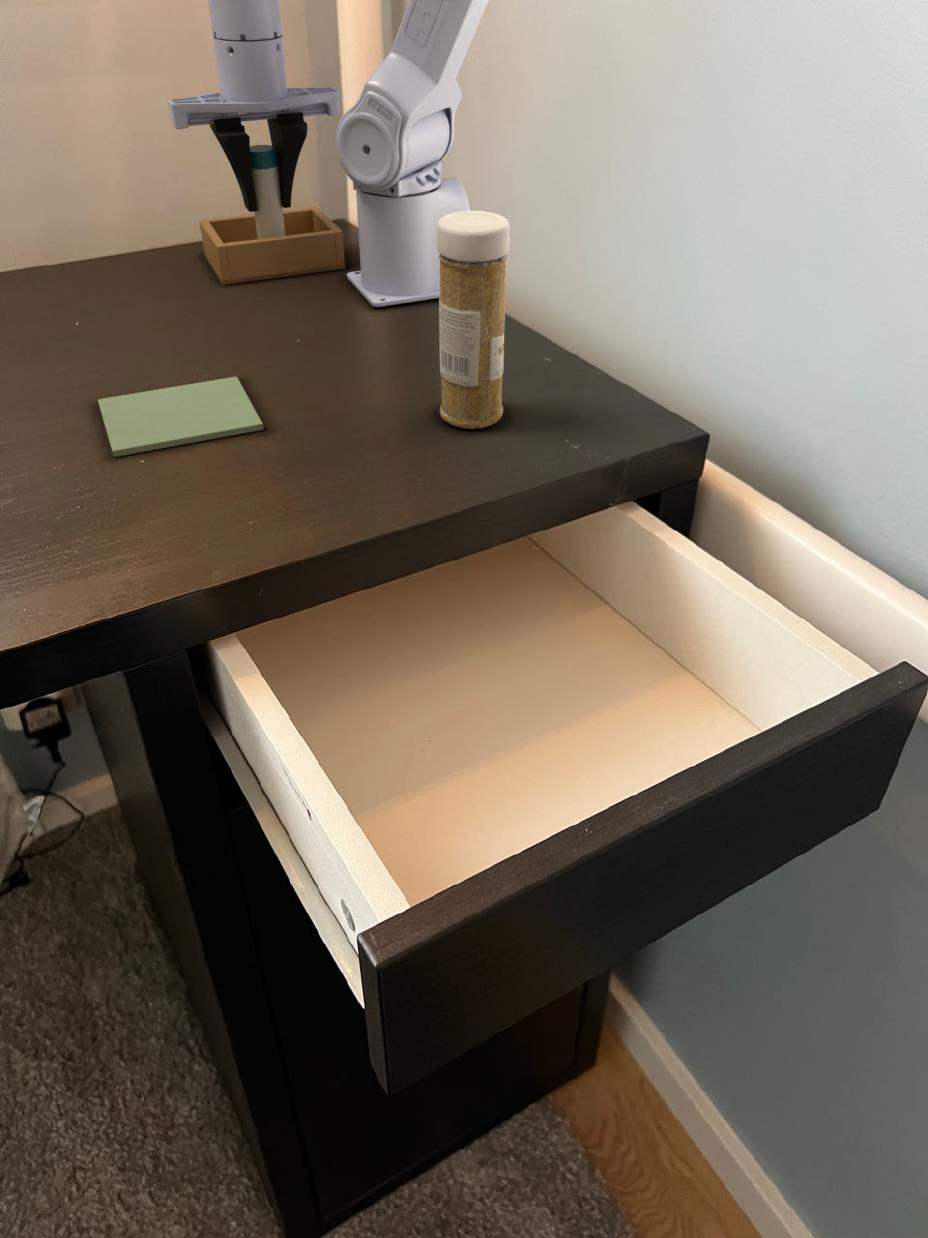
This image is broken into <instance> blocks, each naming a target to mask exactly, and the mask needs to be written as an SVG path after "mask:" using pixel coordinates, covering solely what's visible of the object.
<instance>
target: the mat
mask: <svg viewBox="0 0 928 1238" xmlns="http://www.w3.org/2000/svg"><path fill="white" fill-rule="evenodd" d="M240 381H241V380H239V378H238V376H230V377H225V378H218V379H213V380H207V381H201V382H200V381H199V382H196V383H195V382H194V383H189V384H183V385H177V386H171V387H164V388H159V389H153V390H152V389H151V390H145V391H141V392H134V393H127V394H122V395H117V396H110V397H103V398H99V399H97V402H98V407H99V410H100V414H101V417H102V420H103V425H104V428H105V431H106V435H107V438H108V441H109V445H110V448H111V452H112V456H113V458H117V457H123V456H128V455H133V454H134V455H135V454H139V453H145V452H150V451H154V450H155V451H156V450H160V449H166V448H172V447H177V446H183V445H187V444H195V443H199V442H205V441H209V440H215V439H221V438H225V437H231V436H237V435H243V434H248V433H253V432H258V431H259V432H260V431H263V430H264V423H263V422H262V420H261V418H260V415H259V414H258V412H257V411H256V408H255V407H254V405H253V404H252V401H251V400H250V398H249V396H248V394H247V392H246V391H245V388H244V386H243V385H242V383H241V382H240Z"/></svg>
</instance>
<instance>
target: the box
mask: <svg viewBox="0 0 928 1238" xmlns="http://www.w3.org/2000/svg"><path fill="white" fill-rule="evenodd" d="M283 218H284V226H285V235H286V236H280V237H272V238H263V239H258V237H257V229H256V221H255V214H254V213H250V214H241V215H232V216H223V217H216V218H207V219H199V221H198V222H199V228H200V229H199V230H200V235H201V241H202V247H203V248H202V249H203V253H204V258H205V259H206V261H207V262H208V264H209V265H210V267H211V269H212V270H213V272H214V273H215V275H216V277H218V280H219V281H220V283H221V284H222V285H223V286H226V285H232V284H241V283H248V282H254V281H261V280H269V279H277V278H284V277H292V276H300V275H306V274H315V273H320V272H321V273H322V272H329V271H335V270H343V269H346V261H345V247H344V233H343V231H342V230H341V228H340V227H339V226H338V225H336V223H334V222H333V221H332V220H331V219H330V218H329V217H328V215H327V214H325V213H324V212H323V211H322V210H321V208H320V207H318V206H313V207H302V208H295V209H285V210H284V209H283Z"/></svg>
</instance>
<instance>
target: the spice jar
mask: <svg viewBox="0 0 928 1238" xmlns="http://www.w3.org/2000/svg"><path fill="white" fill-rule="evenodd" d="M510 242H511V225H510V222H509V220H508V219H507V218H506V217H505V216H503V215H500V214H498V213H495V212H490V211H483V210H470V211H461V212H455V213H451V214H447V215H445V216H443V217H442V218H440V220H439V221H438V223H437V251H438V252H439V253H440V255H439V259H440V297H439V298H438V315H439V316H438V319H439V320H438V323H439V324H438V325H439V326H438V327H439V333H438V334H439V335H438V337H439V340H438V341H439V373H440V383H441V384H440V389H441V391H440V396H441V399H440V400H441V404H440V407H439V415H440V417H441V419H442V420H443V421H444V423H448V425H451V426H453V427H456V428H461V429H465V430H466V429H467V430H476V429H484V428H487V427H491V426H492V425H495V424H496V423H498V422H499V421H500V420H501V419H502V417H503V414H504V405H503V397H502V396H503V375H504V374H503V373H504V368H505V367H504V362H505V361H504V360H505V359H504V357H505V319H506V318H505V317H506V309H505V308H506V307H505V294H506V293H505V291H506V290H505V287H506V262H507V257H508V253H509V252H510V245H511V244H510Z"/></svg>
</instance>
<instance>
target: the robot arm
mask: <svg viewBox="0 0 928 1238" xmlns="http://www.w3.org/2000/svg"><path fill="white" fill-rule="evenodd" d="M488 2H489V0H408V3H407V6H406V9H405V12H404V14H403V16H402V19H401V22H400V25H399V27H398V30H397V32H396V33H397V34H396V36H395V39H394V41H393V44H392V47H391V50H390V52H389V53H388V55H387V56H386V57H385V58H384V59H383V61H382V62H381V63H380V64H379V65H378V67H376V69H375V70H374V71H373V72H372V74H371V75H370V76H369V77H368V78H367V80H366V81H365V82H364V84H363V88H362V90H361V93H360V96H359V97H358V99H357V101H356V103H354V105H352V106H351V107H350V108H349V109H348V110H346V111H345V112H344V114H343V115H342V116H341V102H340V91H339V90H337V89H336V88H335V87H333V86H328V87H327V86H326V87H325V86H324V87H288V77H287V67H286V57H285V56H286V55H285V46H284V36H283V27H282V17H281V16H282V15H281V7H280V0H207V4H208V10H209V17H210V25H211V32H212V39H213V40H212V41H213V46H214V52H215V53H214V54H215V60H216V67H217V75H218V81H219V82H218V83H219V89H220V92H215V93H208V94H207V93H206V94H203V95H195V96H188V97H181V98H169V99H168V100H167V103H168V109H169V115H170V120H171V124H172V126H173V127H174V128H175V129H176V130H184V129H188V128H189V127H195V126H206V125H207V126H208V125H209V128H210V130H211V131H212V132H213V135H214V136H215V138H216V140H217V142H218V143H219V145H220V147H221V149H222V150H223V151H222V152H223V153H224V155H225V157H226V159H227V160H228V163H229V164H230V168H231V169H232V171H233V174H234V176H235V179H236V181H237V184H238V187H239V190H240V192H241V196H242V200H243V205H244V208H246V210H247V211H248V212H249V213H254V212H256V211H257V200H256V195H255V189H254V184H253V179H252V171H251V158H250V146H251V137H250V135H249V134H247V132H246V128H245V127H246V126H245V125H243V124H242V122H252V121H253V122H254V121H255V122H256V121H265V120H266V122H267V127H268V133H269V137H270V138H269V139H270V142H271V143H270V144H271V146H274V147H276V150H277V159H278V173H279V182H280V191H281V200H282V209H288V208H289V209H291V208H292V195H293V194H292V193H293V185H294V178H295V174H296V170H297V165H298V161H299V158H300V155H301V152H302V149H303V146H304V143H305V141H306V139H307V136H308V130H309V129H308V123H307V121H305V120H304V117H311V116H323V115H327V116H330V117H333V116H341V118H340V119H339V121H338V124H337V127H336V131H335V141H334V142H335V150H336V155H337V158H338V162H339V163H340V166H341V168H342V170H343V171H344V173H345V174H346V175H347V177H348V178H349V180H350V181H352V189H353V190H354V191H355V195H356V196H355V197H356V211H357V212H356V213H357V214H356V215H357V229H358V232H357V233H358V245H359V247H358V248H359V249H358V250H359V262H360V263H359V264H360V265H359V266H360V270H357V271H350V272H347V274H346V278H347V280H348V281H349V282H350V283H351V284H352V286H354V288H355V289H357V291H358V292H359V293H360V294H361V295H362V296H363V297H364V298H365V300H366V301H367V302H368V303H369V304H370V305H371V306H372V307H375V308H382V307H388V306H394V305H402V304H408V303H415V302H420V301H422V302H423V301H428V300H435V299H439V297H440V259H439V255H440V253H439V252H438V251H437V223H438V221H439V220H440V218H442V217H443V216H445V215H447V214H451V213H455V212H461V211H471V208H470V202H469V197H468V194H467V191H466V188H465V187H464V185H463V184H462V182H461V181H460V180H459V179H457V178H453V177H447V178H446V177H445V178H442V162H443V161H444V159H446V158H447V156H448V154H449V153H450V152H451V150H452V147H453V144H454V140H455V134H456V131H455V130H456V129H455V127H456V126H455V119H456V112H457V109H458V106H459V104H460V101H461V99H462V96H463V95H462V91H461V87H460V86H459V84H458V81H457V76H458V74H459V72H460V69H461V67H462V65H463V61H464V60H465V58H466V55H467V53H468V50H469V48H470V45H471V43H472V41H473V38H474V36H475V34H476V31H477V29H478V26H479V24H480V21H481V19H482V17H483V15H484V13H485V9H486V8H487V6H488Z"/></svg>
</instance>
